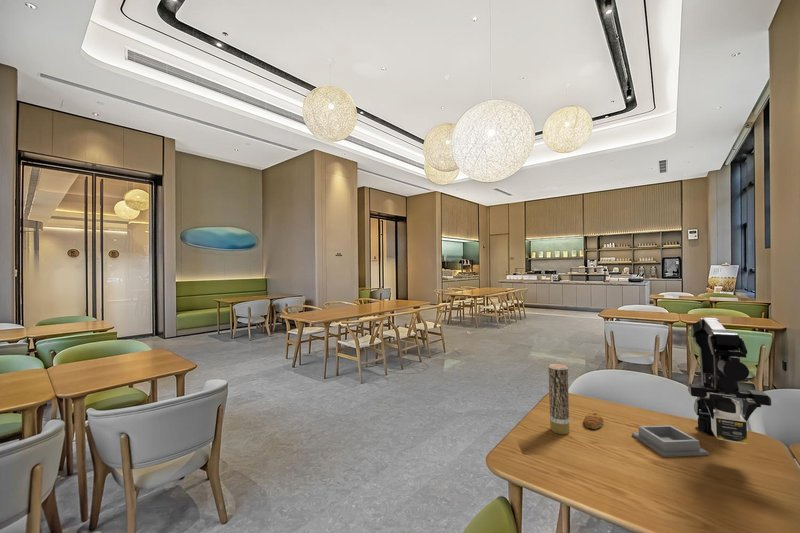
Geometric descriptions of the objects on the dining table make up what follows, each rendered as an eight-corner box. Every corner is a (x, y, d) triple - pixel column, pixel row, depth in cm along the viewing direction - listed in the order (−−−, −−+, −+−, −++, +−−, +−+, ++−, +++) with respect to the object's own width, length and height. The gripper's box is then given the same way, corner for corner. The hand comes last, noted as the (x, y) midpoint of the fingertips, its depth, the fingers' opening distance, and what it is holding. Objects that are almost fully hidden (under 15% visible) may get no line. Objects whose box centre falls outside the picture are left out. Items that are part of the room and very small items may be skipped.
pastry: (600, 432, 132) (600, 422, 132) (581, 428, 136) (581, 418, 137) (604, 423, 140) (604, 414, 140) (585, 419, 144) (585, 410, 144)
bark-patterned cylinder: (565, 427, 137) (563, 363, 137) (572, 435, 130) (570, 368, 130) (547, 427, 137) (546, 363, 138) (553, 435, 131) (551, 368, 131)
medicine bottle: (716, 439, 109) (715, 401, 109) (711, 430, 115) (709, 394, 116) (747, 444, 106) (746, 405, 106) (740, 434, 112) (738, 397, 112)
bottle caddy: (671, 434, 129) (671, 423, 129) (708, 455, 114) (707, 442, 114) (632, 435, 129) (631, 424, 129) (663, 456, 114) (663, 444, 114)
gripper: (756, 368, 113) (758, 416, 113) (683, 362, 122) (685, 406, 122) (771, 378, 103) (773, 430, 103) (690, 370, 113) (692, 418, 113)
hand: (728, 420), depth 111 cm, fingers closed on medicine bottle, 7 cm apart
